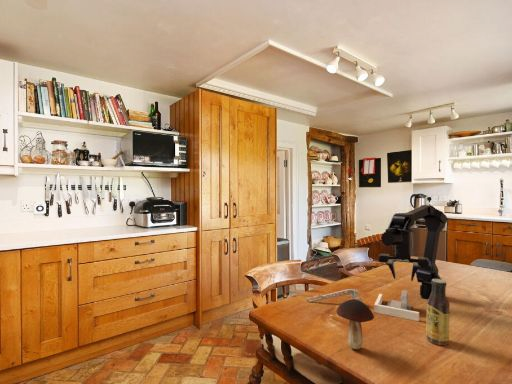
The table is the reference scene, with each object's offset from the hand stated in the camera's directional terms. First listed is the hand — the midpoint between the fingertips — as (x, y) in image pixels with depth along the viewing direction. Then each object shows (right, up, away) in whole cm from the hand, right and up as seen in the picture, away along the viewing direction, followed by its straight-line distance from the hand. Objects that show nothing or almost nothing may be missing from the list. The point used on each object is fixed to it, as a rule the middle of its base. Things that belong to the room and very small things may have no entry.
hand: (403, 280), depth 120 cm
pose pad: (-4, -11, -4) cm, 12 cm away
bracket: (-29, -11, +3) cm, 31 cm away
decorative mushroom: (-32, -11, -33) cm, 47 cm away
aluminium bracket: (-4, -11, -4) cm, 12 cm away
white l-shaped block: (-5, -11, -4) cm, 13 cm away
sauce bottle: (-4, -11, -29) cm, 31 cm away
